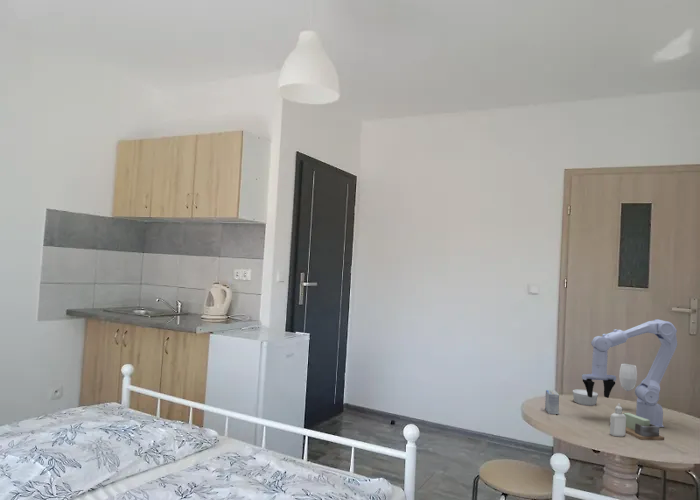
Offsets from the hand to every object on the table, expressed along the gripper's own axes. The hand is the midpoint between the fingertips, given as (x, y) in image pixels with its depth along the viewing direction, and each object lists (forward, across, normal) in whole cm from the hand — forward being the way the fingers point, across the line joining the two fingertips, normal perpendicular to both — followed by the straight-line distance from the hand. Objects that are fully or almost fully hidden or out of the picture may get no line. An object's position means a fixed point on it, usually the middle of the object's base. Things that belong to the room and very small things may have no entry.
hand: (598, 397), depth 222 cm
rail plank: (+8, -6, +16) cm, 19 cm away
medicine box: (+10, +15, -10) cm, 20 cm away
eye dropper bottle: (+10, +5, +20) cm, 23 cm away
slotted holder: (+9, -6, +16) cm, 20 cm away
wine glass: (+10, -24, -14) cm, 29 cm away
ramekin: (+10, -11, -26) cm, 30 cm away
